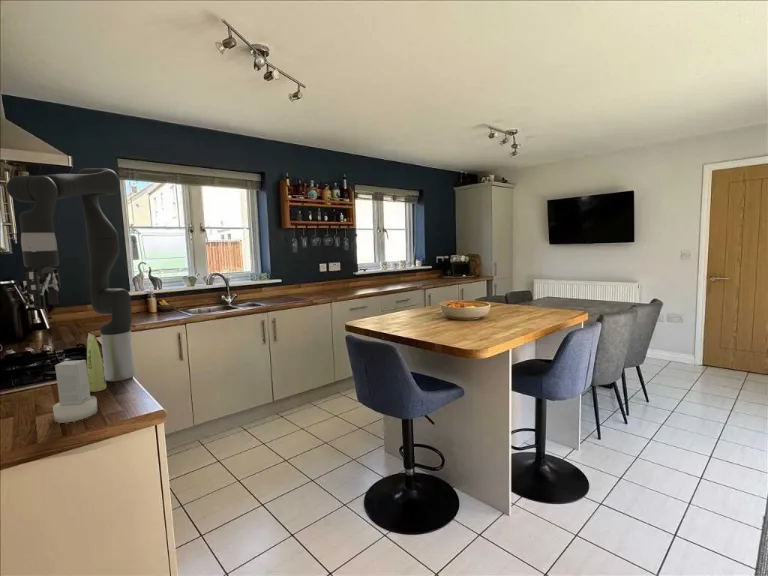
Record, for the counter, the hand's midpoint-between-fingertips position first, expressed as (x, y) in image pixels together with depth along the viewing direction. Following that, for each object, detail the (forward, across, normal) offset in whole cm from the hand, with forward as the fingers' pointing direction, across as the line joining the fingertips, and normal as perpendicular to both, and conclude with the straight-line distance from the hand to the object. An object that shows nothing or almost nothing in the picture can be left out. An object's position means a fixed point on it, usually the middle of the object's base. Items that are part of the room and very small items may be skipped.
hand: (47, 306), depth 113 cm
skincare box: (+28, +3, +5) cm, 29 cm away
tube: (+32, -19, +4) cm, 38 cm away
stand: (+32, +3, +5) cm, 33 cm away
